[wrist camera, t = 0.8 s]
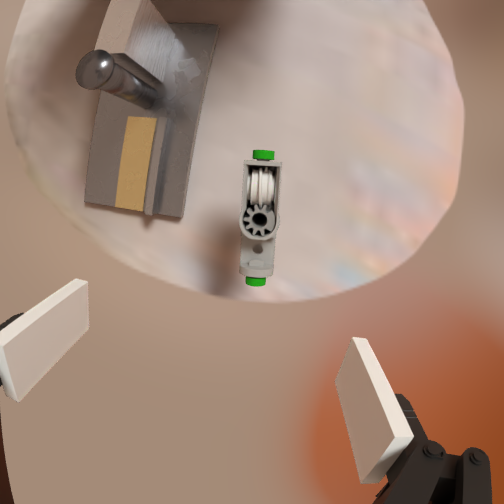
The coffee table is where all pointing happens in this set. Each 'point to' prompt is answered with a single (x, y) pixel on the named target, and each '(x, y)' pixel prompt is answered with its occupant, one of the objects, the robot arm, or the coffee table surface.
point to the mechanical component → (259, 216)
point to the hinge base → (167, 106)
